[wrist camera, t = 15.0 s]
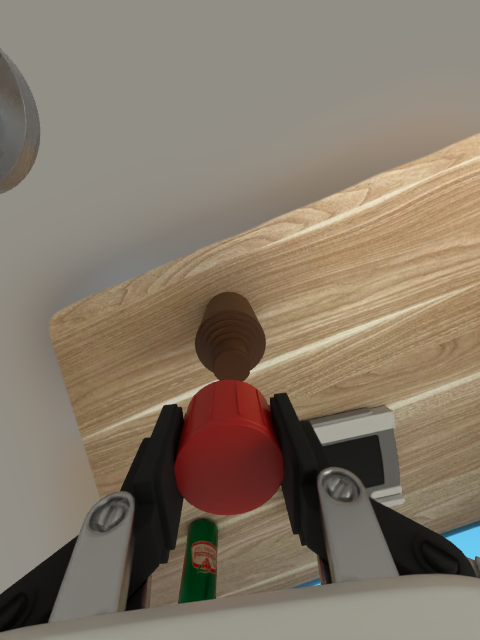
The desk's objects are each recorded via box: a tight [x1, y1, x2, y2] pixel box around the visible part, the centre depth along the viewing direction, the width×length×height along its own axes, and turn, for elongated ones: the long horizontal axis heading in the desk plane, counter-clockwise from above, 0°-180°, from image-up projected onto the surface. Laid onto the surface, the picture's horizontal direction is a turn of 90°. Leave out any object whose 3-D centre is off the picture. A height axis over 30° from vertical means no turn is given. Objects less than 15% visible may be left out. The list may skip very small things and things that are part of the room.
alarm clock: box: [308, 406, 405, 507], centre depth 39 cm, size 17×5×16 cm
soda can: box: [178, 519, 218, 604], centre depth 37 cm, size 5×5×12 cm
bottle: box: [195, 292, 266, 381], centre depth 26 cm, size 6×6×17 cm
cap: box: [174, 380, 283, 515], centre depth 10 cm, size 4×4×3 cm
